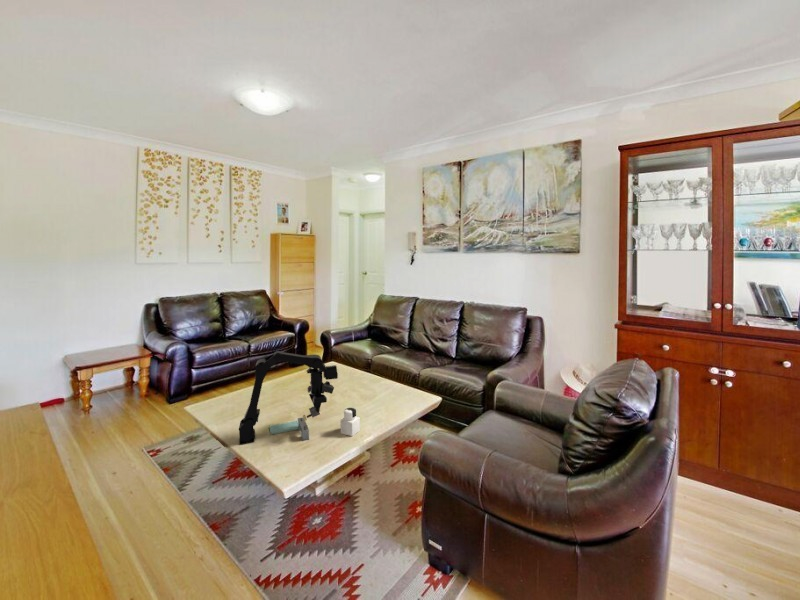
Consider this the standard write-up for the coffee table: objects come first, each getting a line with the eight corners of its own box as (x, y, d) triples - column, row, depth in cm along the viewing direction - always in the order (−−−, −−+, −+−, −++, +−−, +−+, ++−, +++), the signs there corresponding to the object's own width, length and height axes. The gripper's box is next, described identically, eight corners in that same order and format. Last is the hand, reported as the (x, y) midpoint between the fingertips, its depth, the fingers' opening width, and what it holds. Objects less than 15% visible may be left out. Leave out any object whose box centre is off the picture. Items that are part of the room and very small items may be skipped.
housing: (302, 440, 176) (302, 430, 175) (298, 427, 189) (297, 417, 188) (309, 439, 177) (308, 429, 176) (303, 426, 190) (303, 416, 189)
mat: (270, 434, 182) (270, 433, 182) (269, 426, 190) (269, 425, 190) (299, 429, 187) (299, 428, 187) (296, 421, 195) (296, 420, 195)
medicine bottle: (348, 427, 189) (348, 405, 188) (360, 430, 186) (359, 408, 184) (340, 433, 183) (339, 410, 181) (352, 436, 180) (351, 413, 178)
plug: (304, 421, 181) (302, 415, 180) (303, 418, 185) (301, 412, 184) (321, 413, 184) (319, 407, 183) (320, 410, 188) (317, 404, 187)
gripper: (336, 384, 178) (337, 414, 180) (328, 373, 195) (328, 401, 197) (313, 387, 173) (314, 418, 175) (307, 375, 190) (307, 404, 192)
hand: (317, 410), depth 185 cm, fingers closed on plug, 4 cm apart
